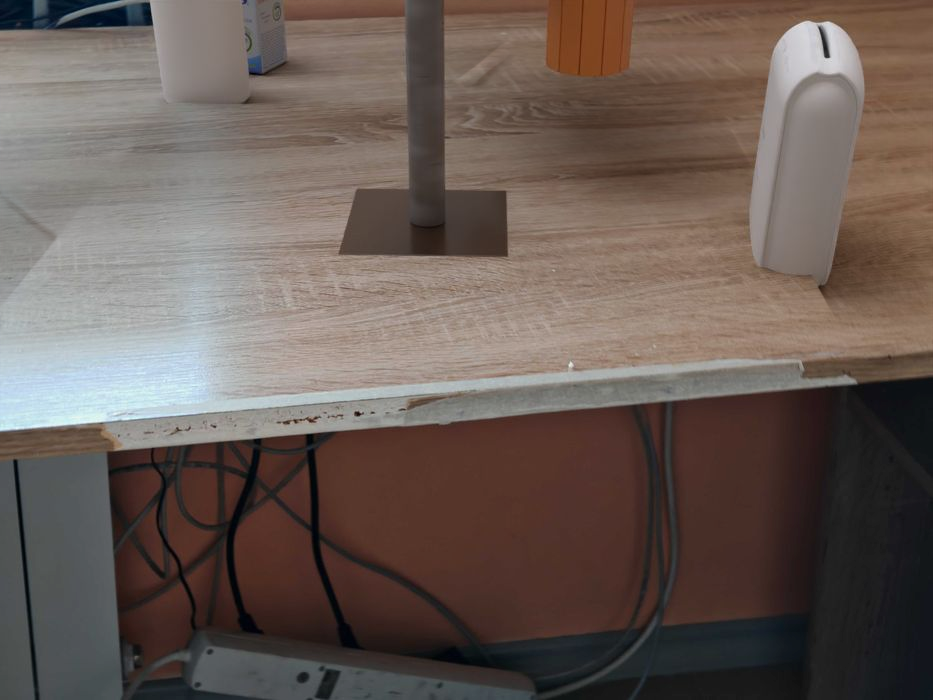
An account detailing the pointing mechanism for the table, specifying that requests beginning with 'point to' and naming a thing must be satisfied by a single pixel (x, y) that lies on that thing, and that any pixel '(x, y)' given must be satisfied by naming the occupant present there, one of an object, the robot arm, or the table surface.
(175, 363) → the table surface
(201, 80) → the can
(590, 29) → the ring sleeve
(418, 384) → the table surface
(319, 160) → the table surface
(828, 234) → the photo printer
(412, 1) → the post stand
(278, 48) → the medicine box
